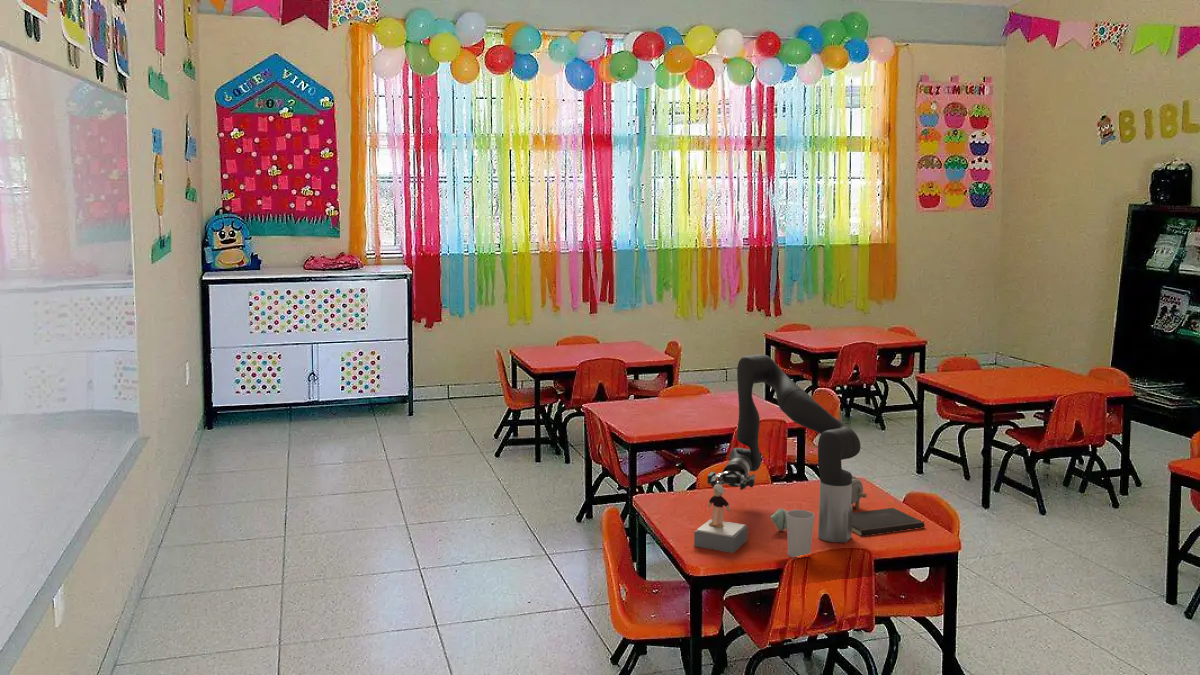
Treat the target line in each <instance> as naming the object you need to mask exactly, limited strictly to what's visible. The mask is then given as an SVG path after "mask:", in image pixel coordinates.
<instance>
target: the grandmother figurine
mask: <svg viewBox="0 0 1200 675" xmlns="http://www.w3.org/2000/svg"><path fill="white" fill-rule="evenodd" d="M713 490H714V491H713V494H714V495H713V496H711V497H710V498H709V501H708V504H707V507H709V508H711V507H712V514H711V519H712V522H711V523H709V526H716V528H723V527H724V525H723V521H724V507H725V508H726V509H725V510H726V512H730V511H731V508H730V503H729V502H728V501H727V500H726V499H725V498H724V497H723V494H724V493H726V489H725V488H724V487H723V485H720V484H716V485H715V486H714V487H713Z"/></svg>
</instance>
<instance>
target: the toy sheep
mask: <svg viewBox="0 0 1200 675" xmlns="http://www.w3.org/2000/svg"><path fill="white" fill-rule="evenodd" d="M862 498H863V499H865V498H867V494H866V493H865V492H864V486H863V482H862V481H861V480H859V479H858V478H857V477H856V476H854V475H852V492H851V506H852V505H853V504H855V509H859V508H860V499H862Z"/></svg>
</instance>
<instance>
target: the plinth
mask: <svg viewBox="0 0 1200 675" xmlns="http://www.w3.org/2000/svg"><path fill="white" fill-rule="evenodd" d="M711 522H712V518H710V519H708V521H706V522H704V523H703V524H702V525H701V526H699V527H698V528H697V529H696V530H694V535H693V536H694V538H693V539H694V540H693V546H694V547H697V548H701V549H702V548H703V549H707V550H708V549H709V550H712V549H714V550H713V551H718V550H719V552H724V553H731V554H734V553H735V552H736V551H738V549H740V548H741V547H742V546H743V545H744V544H745V543H747V541H748V525H746V524H743V523H737V522H730V521H724V520H723V525H724V527H723V528H716V526H709V523H711ZM740 546H741V547H740Z"/></svg>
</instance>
